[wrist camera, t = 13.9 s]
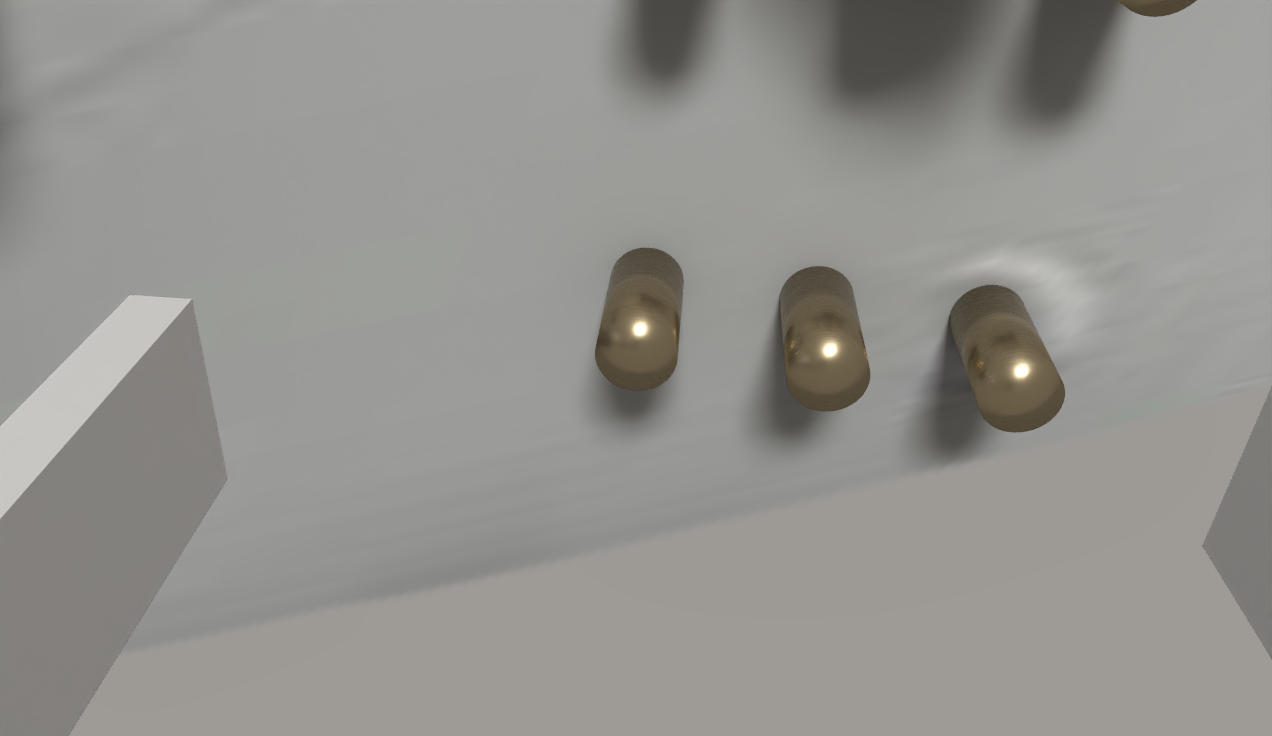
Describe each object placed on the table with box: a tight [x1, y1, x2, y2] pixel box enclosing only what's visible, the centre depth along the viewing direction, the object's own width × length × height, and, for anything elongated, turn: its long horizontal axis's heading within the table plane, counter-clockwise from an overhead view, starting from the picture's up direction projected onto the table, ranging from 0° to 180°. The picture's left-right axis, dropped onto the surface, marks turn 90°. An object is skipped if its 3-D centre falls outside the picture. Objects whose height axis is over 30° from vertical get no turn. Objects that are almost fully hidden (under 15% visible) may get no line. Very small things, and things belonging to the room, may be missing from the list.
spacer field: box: [595, 0, 1196, 432], centre depth 37 cm, size 17×18×6 cm
